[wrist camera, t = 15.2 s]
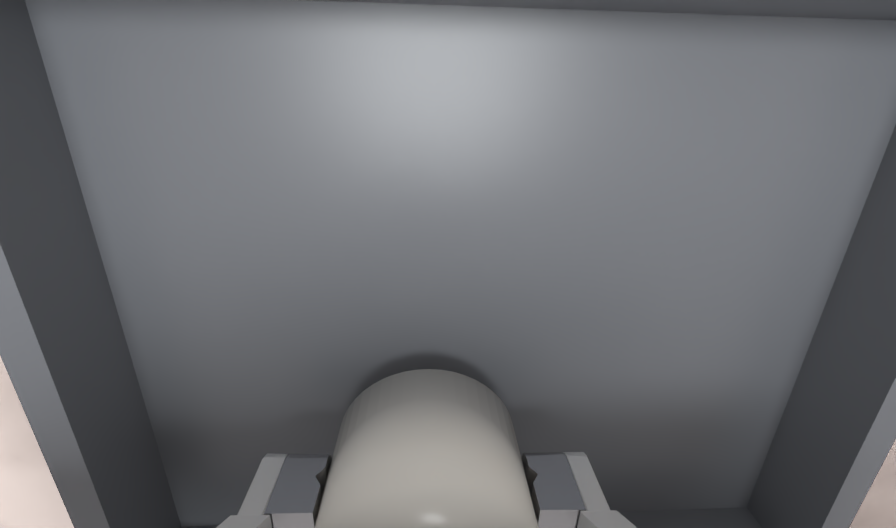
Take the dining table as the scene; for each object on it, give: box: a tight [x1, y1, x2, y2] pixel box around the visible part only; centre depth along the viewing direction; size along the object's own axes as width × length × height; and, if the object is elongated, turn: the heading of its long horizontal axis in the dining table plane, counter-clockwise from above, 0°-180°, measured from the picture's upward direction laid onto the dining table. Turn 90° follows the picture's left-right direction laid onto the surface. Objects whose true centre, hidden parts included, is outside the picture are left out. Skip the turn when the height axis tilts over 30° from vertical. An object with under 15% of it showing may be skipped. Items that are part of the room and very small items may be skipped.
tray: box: [0, 0, 896, 528], centre depth 11 cm, size 20×16×3 cm
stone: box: [315, 369, 539, 528], centre depth 10 cm, size 5×5×3 cm
